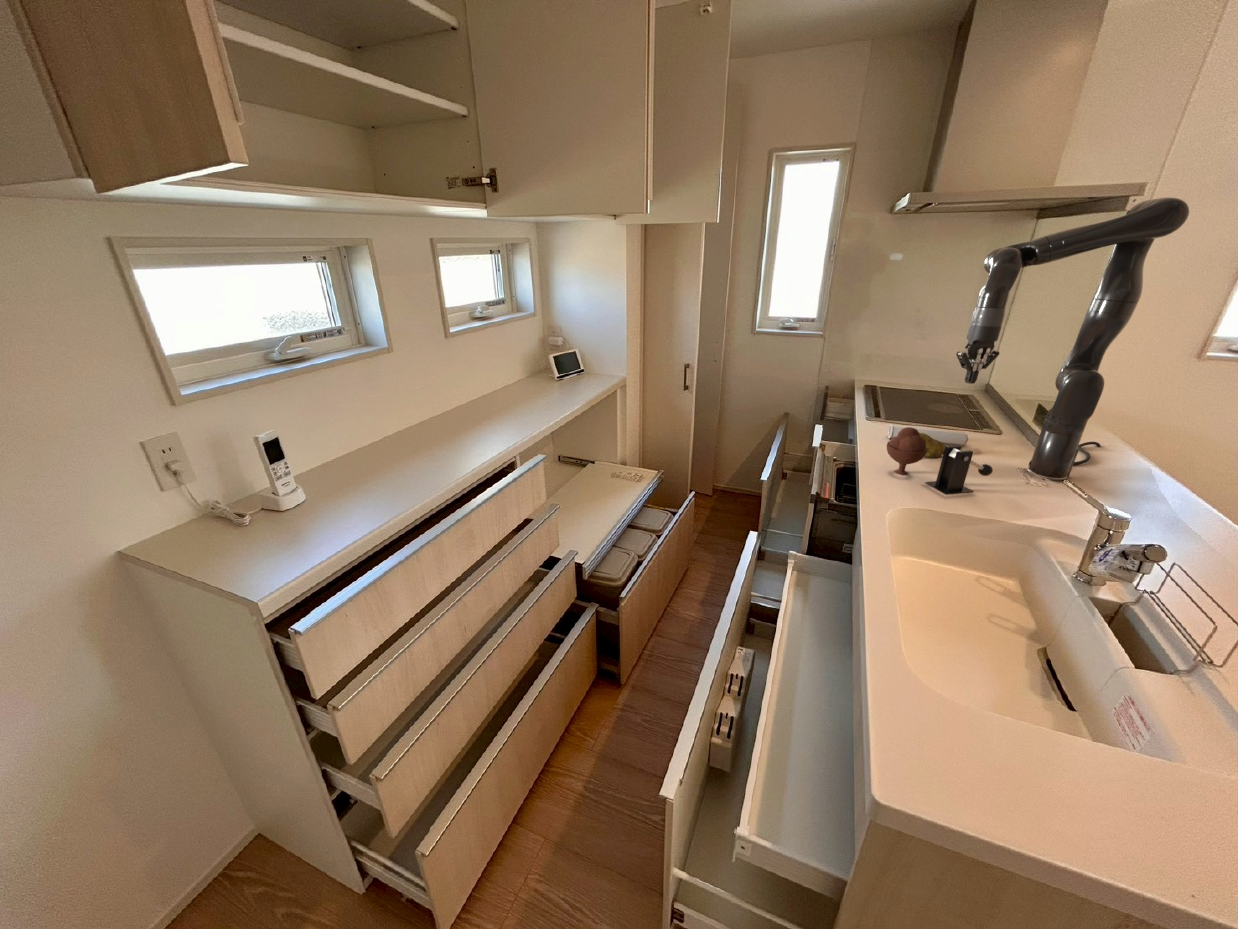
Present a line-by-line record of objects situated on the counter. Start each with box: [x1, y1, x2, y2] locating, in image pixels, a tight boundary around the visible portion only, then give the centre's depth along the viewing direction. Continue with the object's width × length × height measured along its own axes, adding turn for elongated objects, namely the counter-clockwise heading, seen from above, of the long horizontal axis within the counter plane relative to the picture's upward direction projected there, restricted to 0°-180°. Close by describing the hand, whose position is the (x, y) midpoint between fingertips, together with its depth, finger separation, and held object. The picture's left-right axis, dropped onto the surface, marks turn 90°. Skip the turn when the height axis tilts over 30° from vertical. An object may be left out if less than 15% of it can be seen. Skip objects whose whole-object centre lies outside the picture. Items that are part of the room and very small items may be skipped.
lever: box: [949, 448, 994, 477], centre depth 140 cm, size 15×3×3 cm, turn 100°
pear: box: [919, 432, 947, 459], centre depth 166 cm, size 8×13×8 cm, turn 72°
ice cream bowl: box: [886, 426, 928, 476], centre depth 150 cm, size 11×11×15 cm
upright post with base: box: [924, 445, 974, 496], centre depth 140 cm, size 9×8×13 cm
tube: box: [887, 424, 969, 447], centre depth 179 cm, size 5×5×25 cm
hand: (969, 383), depth 149 cm, fingers closed
